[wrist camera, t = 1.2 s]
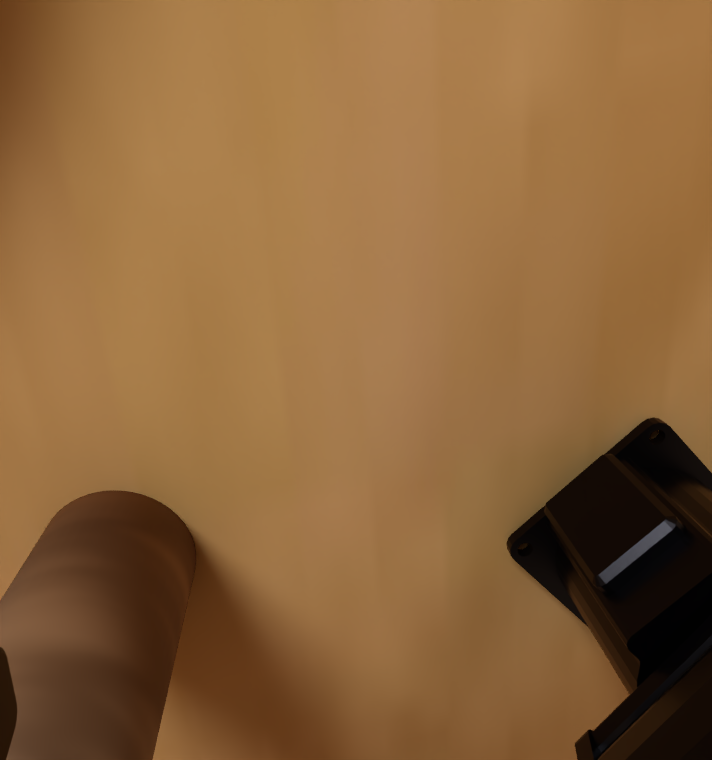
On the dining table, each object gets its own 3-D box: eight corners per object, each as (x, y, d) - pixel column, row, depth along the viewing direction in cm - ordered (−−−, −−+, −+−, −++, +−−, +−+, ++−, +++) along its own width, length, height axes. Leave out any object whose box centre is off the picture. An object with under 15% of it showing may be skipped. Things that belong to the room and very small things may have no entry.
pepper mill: (227, 552, 22) (146, 1068, 10) (130, 643, 23) (-54, 1223, 11) (107, 461, 21) (-162, 932, 8) (9, 562, 21) (-366, 1123, 9)
